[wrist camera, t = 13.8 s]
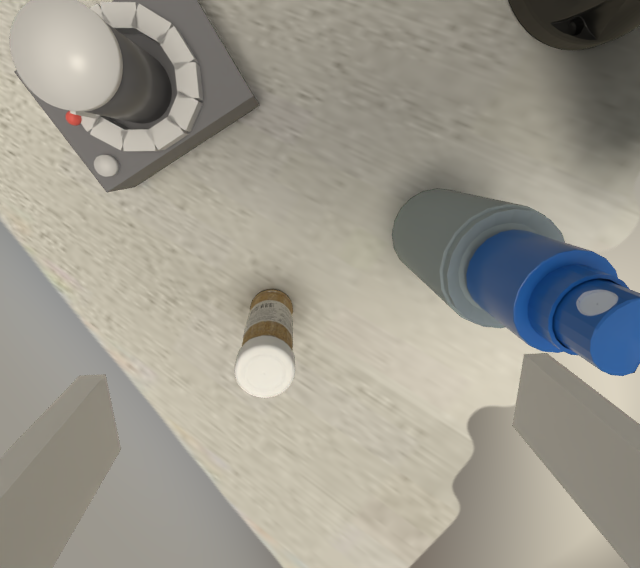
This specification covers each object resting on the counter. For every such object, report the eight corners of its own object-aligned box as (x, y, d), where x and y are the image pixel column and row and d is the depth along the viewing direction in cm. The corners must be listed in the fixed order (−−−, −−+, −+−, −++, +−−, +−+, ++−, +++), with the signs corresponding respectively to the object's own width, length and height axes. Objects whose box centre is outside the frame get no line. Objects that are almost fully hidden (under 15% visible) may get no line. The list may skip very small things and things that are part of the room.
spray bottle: (375, 225, 40) (498, 325, 16) (448, 169, 39) (695, 190, 15) (421, 289, 43) (587, 457, 19) (491, 239, 41) (761, 350, 18)
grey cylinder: (105, 38, 28) (12, -22, 19) (178, 61, 29) (124, 15, 20) (96, 115, 30) (6, 96, 20) (166, 135, 31) (111, 126, 21)
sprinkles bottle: (252, 329, 43) (237, 402, 30) (248, 289, 41) (229, 348, 28) (295, 325, 43) (297, 397, 30) (292, 286, 41) (292, 343, 29)
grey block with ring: (192, -8, 33) (162, -58, 25) (259, 105, 36) (250, 91, 28) (60, 85, 34) (-7, 65, 27) (134, 186, 37) (94, 194, 30)
